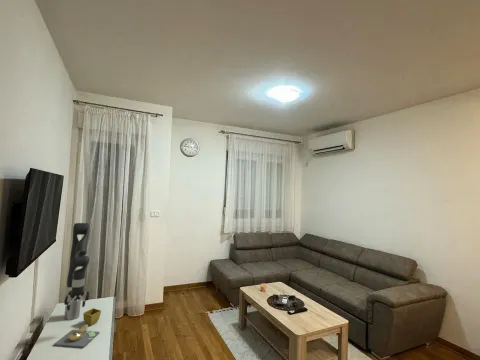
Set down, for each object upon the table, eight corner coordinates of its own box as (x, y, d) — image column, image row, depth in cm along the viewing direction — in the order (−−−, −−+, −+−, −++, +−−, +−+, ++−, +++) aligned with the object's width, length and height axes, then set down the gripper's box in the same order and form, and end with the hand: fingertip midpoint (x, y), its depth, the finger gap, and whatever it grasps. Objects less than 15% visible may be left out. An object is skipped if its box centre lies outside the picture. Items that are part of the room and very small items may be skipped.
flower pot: (100, 322, 188) (101, 310, 189) (90, 327, 180) (91, 315, 181) (92, 319, 191) (93, 308, 192) (81, 325, 183) (83, 312, 184)
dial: (76, 342, 160) (77, 336, 160) (66, 341, 160) (66, 335, 161) (91, 329, 175) (91, 324, 175) (81, 329, 175) (82, 323, 175)
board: (53, 345, 157) (53, 343, 157) (73, 330, 175) (73, 328, 175) (85, 348, 157) (85, 345, 157) (101, 332, 175) (101, 330, 175)
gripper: (67, 288, 165) (64, 313, 164) (91, 284, 174) (88, 307, 173) (65, 285, 170) (62, 309, 169) (88, 281, 180) (86, 303, 179)
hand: (75, 308), depth 171 cm, fingers open, 8 cm apart
